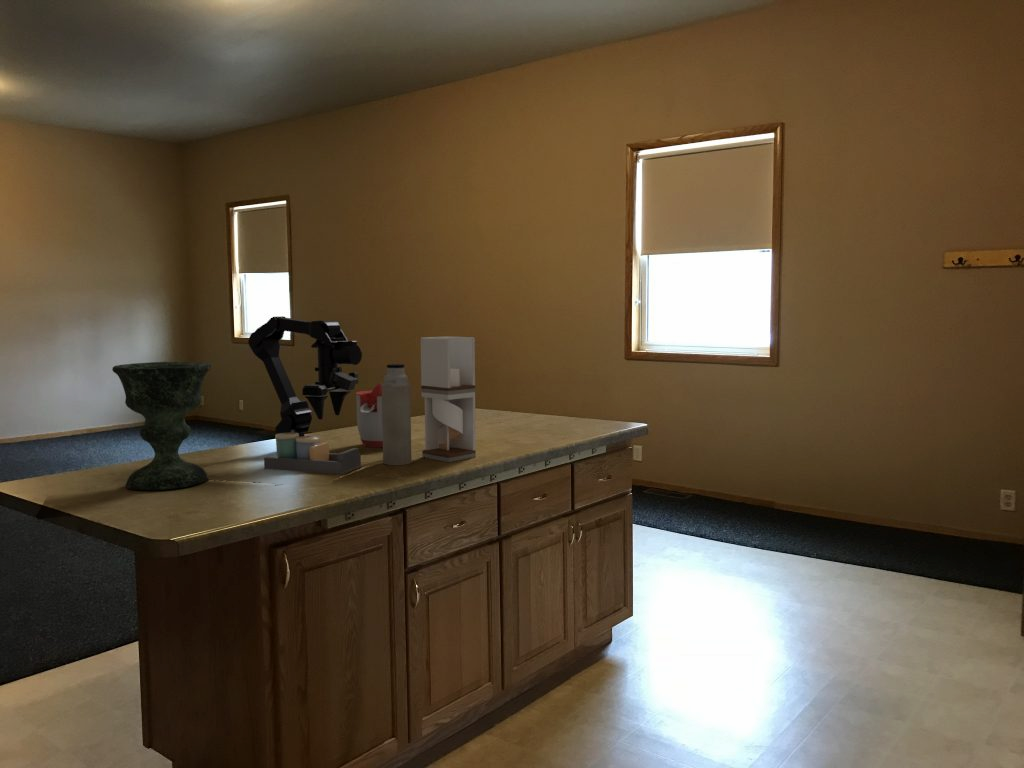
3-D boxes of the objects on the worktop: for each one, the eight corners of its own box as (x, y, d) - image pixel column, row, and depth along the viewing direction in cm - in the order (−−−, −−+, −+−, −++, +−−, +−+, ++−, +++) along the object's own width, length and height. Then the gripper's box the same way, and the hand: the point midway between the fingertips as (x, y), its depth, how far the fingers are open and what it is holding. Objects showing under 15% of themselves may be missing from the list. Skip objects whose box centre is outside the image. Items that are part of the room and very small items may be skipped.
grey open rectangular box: (264, 471, 222) (263, 450, 221) (287, 464, 232) (286, 443, 232) (341, 476, 215) (340, 454, 214) (360, 468, 226) (360, 447, 225)
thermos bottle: (391, 459, 239) (389, 362, 236) (416, 460, 236) (414, 363, 233) (377, 464, 231) (376, 364, 229) (403, 466, 229) (402, 365, 226)
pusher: (310, 469, 219) (309, 447, 219) (325, 464, 227) (324, 442, 226) (314, 469, 219) (313, 447, 218) (329, 464, 227) (328, 442, 226)
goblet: (119, 478, 213) (114, 363, 210) (212, 471, 222) (208, 360, 219) (116, 497, 193) (109, 369, 190) (218, 488, 202) (213, 366, 199)
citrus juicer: (343, 448, 256) (342, 384, 254) (373, 440, 272) (372, 379, 271) (387, 452, 251) (386, 386, 249) (415, 442, 267) (414, 381, 265)
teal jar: (272, 465, 224) (270, 435, 223) (285, 460, 230) (283, 432, 229) (292, 465, 222) (290, 436, 221) (304, 461, 228) (303, 432, 227)
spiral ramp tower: (422, 457, 242) (420, 337, 239) (449, 452, 250) (447, 336, 246) (448, 462, 234) (447, 338, 231) (475, 456, 242) (474, 337, 239)
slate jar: (291, 468, 222) (291, 439, 221) (304, 464, 228) (303, 435, 227) (312, 469, 220) (311, 440, 219) (324, 465, 226) (323, 436, 225)
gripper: (335, 366, 227) (336, 423, 229) (368, 362, 245) (369, 414, 246) (300, 365, 231) (301, 421, 232) (335, 361, 248) (336, 412, 250)
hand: (329, 417), depth 240 cm, fingers open, 9 cm apart
